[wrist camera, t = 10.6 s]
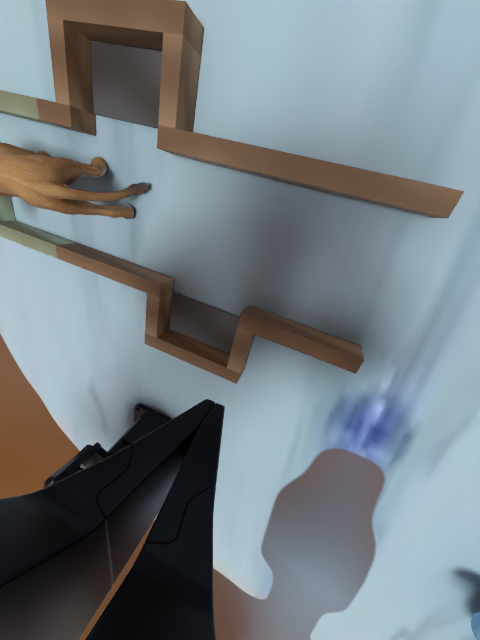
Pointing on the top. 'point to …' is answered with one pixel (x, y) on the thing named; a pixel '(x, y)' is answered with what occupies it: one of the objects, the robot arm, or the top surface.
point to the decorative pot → (476, 625)
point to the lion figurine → (58, 183)
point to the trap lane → (179, 139)
